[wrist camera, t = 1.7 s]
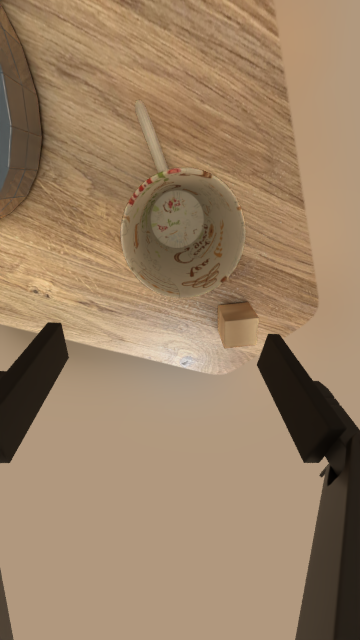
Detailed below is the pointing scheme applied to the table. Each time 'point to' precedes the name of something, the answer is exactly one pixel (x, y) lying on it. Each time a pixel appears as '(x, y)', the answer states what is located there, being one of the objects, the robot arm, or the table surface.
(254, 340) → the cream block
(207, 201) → the mug
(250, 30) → the table surface
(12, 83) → the bowl
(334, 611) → the robot arm
